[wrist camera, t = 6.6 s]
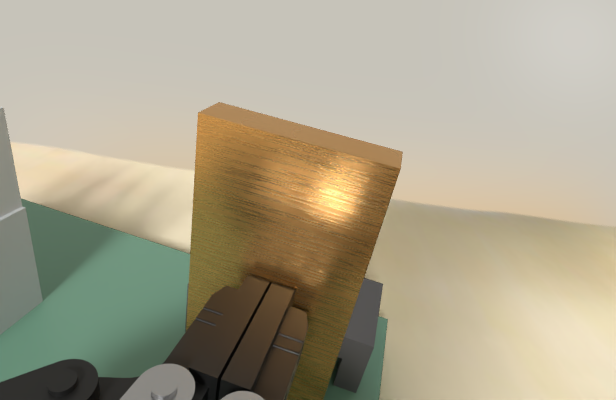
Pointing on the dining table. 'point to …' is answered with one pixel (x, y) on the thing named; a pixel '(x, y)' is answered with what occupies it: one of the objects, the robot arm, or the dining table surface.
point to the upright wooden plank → (288, 221)
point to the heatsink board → (122, 297)
